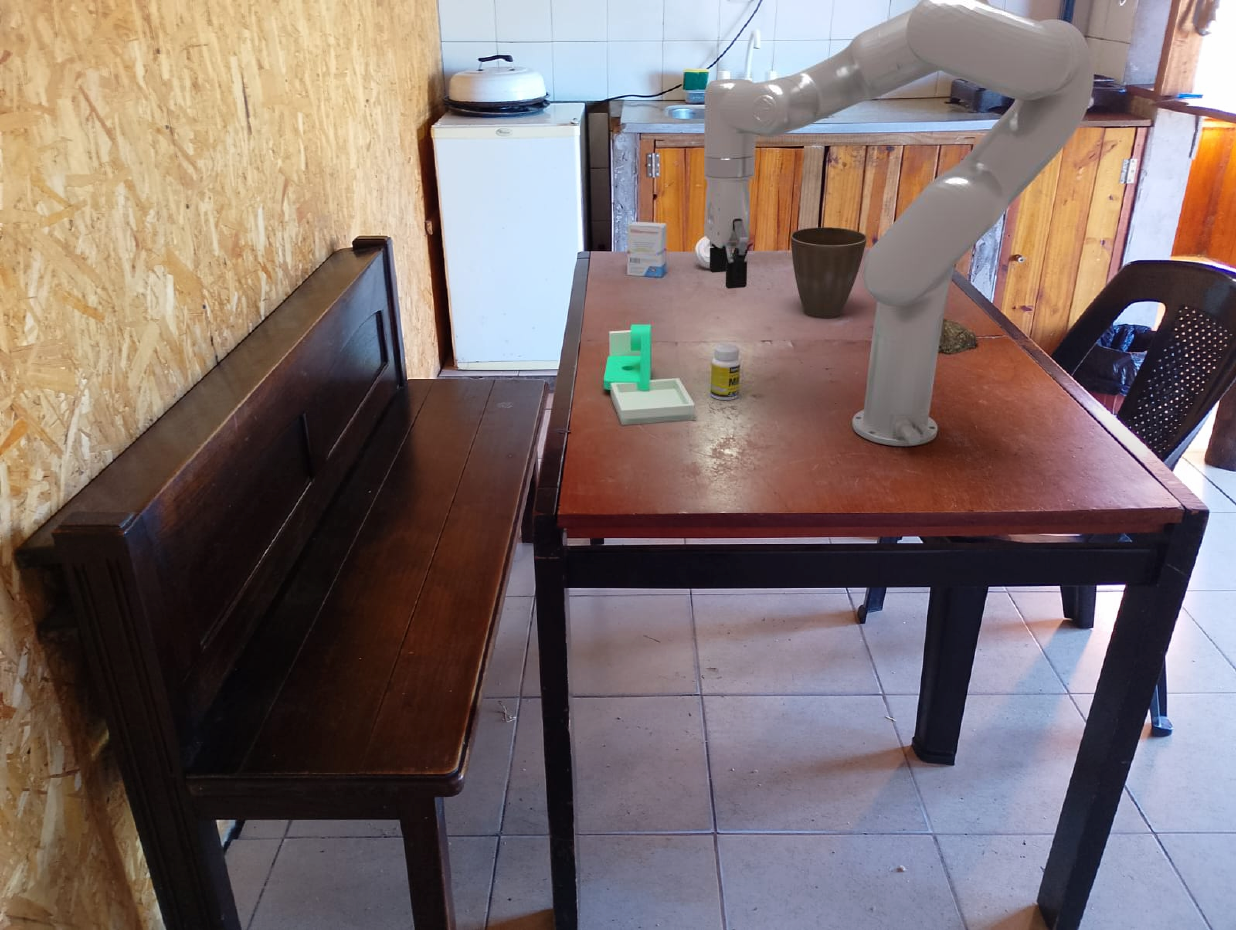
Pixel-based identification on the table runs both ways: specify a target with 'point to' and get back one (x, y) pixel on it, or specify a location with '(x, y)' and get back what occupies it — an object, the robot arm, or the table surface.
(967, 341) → the rock
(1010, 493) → the table surface
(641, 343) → the camera mount
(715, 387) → the supplement bottle
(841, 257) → the plant pot
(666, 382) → the tray
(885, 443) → the robot arm
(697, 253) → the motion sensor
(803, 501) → the table surface
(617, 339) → the rear label tag
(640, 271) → the ink box
